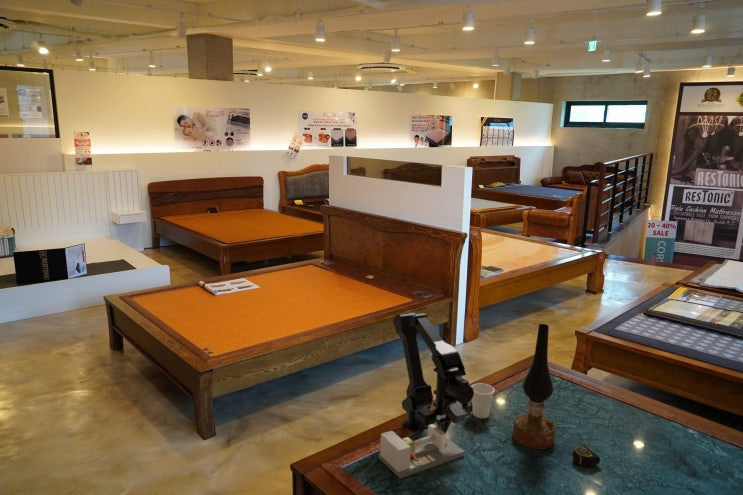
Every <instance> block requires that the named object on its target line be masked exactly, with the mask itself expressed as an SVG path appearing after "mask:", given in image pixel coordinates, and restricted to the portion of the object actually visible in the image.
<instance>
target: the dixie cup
mask: <svg viewBox="0 0 743 495" xmlns="http://www.w3.org/2000/svg"><path fill="white" fill-rule="evenodd" d="M470 386H471V387H472V388H473V391H474V396H473V398H472V400H471V403H472V405H473V411H472V415H473V416H474V417H475V418H478V419H487V418H488V417H490V411H491V407H492V402H493V397H494V393H495V391H496V390H495V389H496V388H494V387H493V386H492V385H490V384H487V383H481V382H479V383H478V382H477V383H473V384H472V385H470Z"/></svg>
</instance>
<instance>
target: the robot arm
mask: <svg viewBox="0 0 743 495" xmlns="http://www.w3.org/2000/svg"><path fill="white" fill-rule="evenodd" d="M394 316H395V317H394V318H393V320H392V322H393V323H392V324H393V327H394V330H395V333H396V335H397V336H398V337H400V339H401V341H402V346H403V347H402V348H403V352H404V359H405V365H406V370H407V376H408V382H409V383H408V385H407V388H406V392H405V393H406V398H404V399H403V400H402V401H401V408H402V409H403V410H404V411H405V412H406V420H404V421H402V424H403V423H404V424H403V425H404V426H406V427H407V429H409V430H411V431H412V432H417V431H420V430H423V429H425V428H428V425H431V424H434V425H435V423H436V427H438V428H439V429H440V430H442V431H443V432H444V433H446V434H447V432H448V430H449V427H450V426H451V424H452V423H453V424H458V423H460V422H464V421H465V420H466V418H467V417H468V416H470V415H471V413H473V405H472V398H473V396H474V391H473V388H472V387H471V386H472V385H470V382H469V380H467V379H465V378H463V376H464V377H465V376H466V375H467V373H466V368H465V365H464V363H463V361H462V358H461V354H460V353H459V351H458V350H457V349H455V347H453V346H452V345H451V344H449V343H447V342H445V341H444V340H443V338H442V337H441V336H440V334H439V333H438V331H437V329H436V328H435V327H434V326H433V324H432V323H431V321H430V320H429V319H428V316H427V314H426V313H424V312H421V313H415V312H414V311H408V312H407V311H406V312H402V313H401V312H400V313H396V314H395V315H394ZM418 335H419V336H420V337H421V338H422V340H423V341H424V343H425V345H426V346H427V348H428V349H429V350H430V352H431V361H432V362H433V365H434V366H435V367H434V368H433V372H435V373H436V388H435V389H434V390H433V391H432V386H431V385H430V384H428V383H427V382H426V381H425V379H424V373H423V368H422V362H421V356H420V351H419V344H418V340H417V338H418V337H417V336H418ZM453 369H456V370H453ZM433 394H434V395H435V401H434V395H433ZM432 406H433V407H434V409H431V408H432Z"/></svg>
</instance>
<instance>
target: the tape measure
mask: <svg viewBox="0 0 743 495" xmlns="http://www.w3.org/2000/svg"><path fill="white" fill-rule="evenodd" d="M572 460H574V462H576V464H578V465H580V466H582V467H592V466H594V465H595V466H596V465H599V464H600V463H601V458H600V456H599V455H598V454H597V453H596V452H594V451H593V450H592V449H590V448H589V447H588V446H587V445H583V446H576V447H574V448H573V452H572Z"/></svg>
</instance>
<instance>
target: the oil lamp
mask: <svg viewBox="0 0 743 495" xmlns="http://www.w3.org/2000/svg"><path fill="white" fill-rule="evenodd" d="M549 327H550V326H549V324H545V323H540V324H538V329H537V336H536V344H535V351H534V356H533V358H532V359H533V361H532V363H531V366H530V369H529V370H528V372H527V374H526V376H525V378H524V381H523V384H522V389H523V392H524V394H525V396H527V398H528V400H527V401H526V405H527V408H528V412H527V413H522V414H519V415H517V416H516V417H515V418H514V419H513V420H514V421H513V429H512V433H511V435H512V439H513V440H514V441H515V442H517V443H518V444H519V445H522V446H523V447H526V448H527V449H528V448H529V449H535V450H546V449H549V448H551V447H553V446H554V445H555V443H556V442H555V441H556V439H555V435H556V434H555V433H556V426H555V424H554V420H552V419H550V418H548V417H545V416H544V415H543V412H544V410H545V409H546V408H547V404H546V403H545V401H546V400H548V399H549V398H550V397H551V396H552V395H553V392H554V384H553V380H552V377H551V374H550V370H549V365H548V359H549V358H548V356H549V355H548V354H549V353H548V349H549V347H548V346H549Z"/></svg>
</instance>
